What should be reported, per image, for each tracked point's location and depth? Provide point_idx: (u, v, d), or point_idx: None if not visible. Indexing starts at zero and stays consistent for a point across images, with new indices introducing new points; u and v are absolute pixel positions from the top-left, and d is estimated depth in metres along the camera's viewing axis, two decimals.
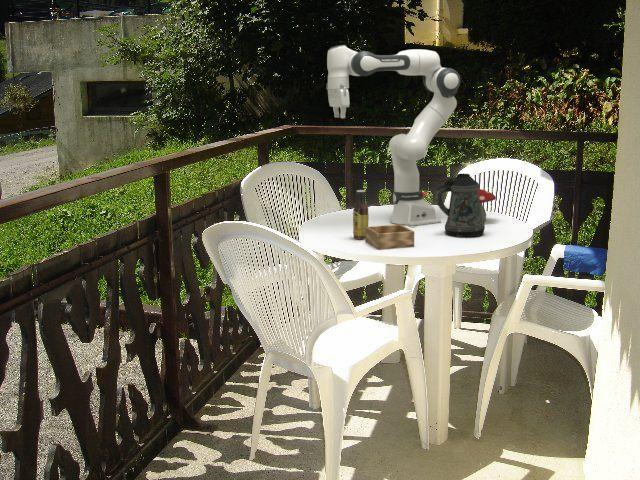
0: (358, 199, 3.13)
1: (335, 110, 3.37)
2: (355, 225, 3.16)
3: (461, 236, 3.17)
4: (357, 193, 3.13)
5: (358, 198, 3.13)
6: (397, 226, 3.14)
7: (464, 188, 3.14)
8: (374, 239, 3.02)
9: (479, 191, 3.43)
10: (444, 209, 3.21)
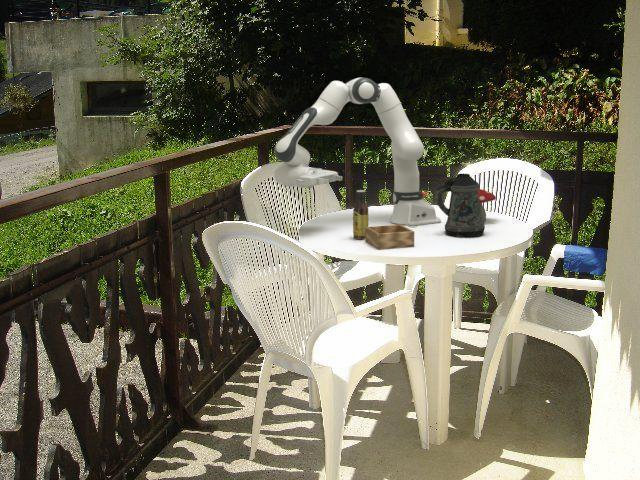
0: (358, 199, 3.13)
1: (336, 178, 3.26)
2: (355, 225, 3.16)
3: (461, 236, 3.17)
4: (357, 193, 3.13)
5: (358, 198, 3.13)
6: (397, 226, 3.14)
7: (464, 188, 3.14)
8: (374, 239, 3.02)
9: (479, 191, 3.43)
10: (444, 209, 3.21)
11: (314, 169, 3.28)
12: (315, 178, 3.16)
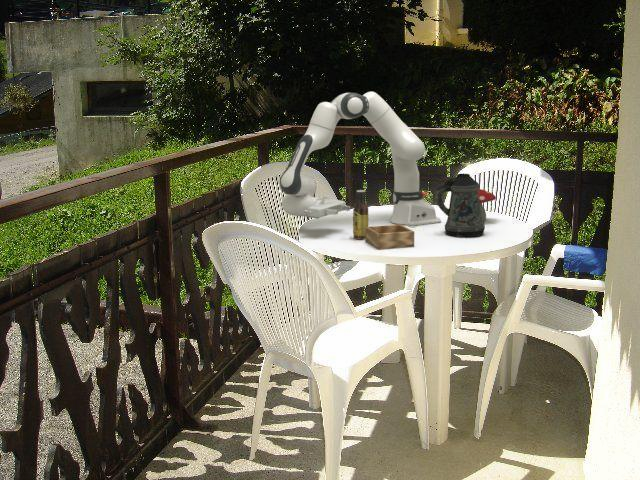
0: (358, 199, 3.13)
1: (344, 208, 3.27)
2: (355, 225, 3.16)
3: (461, 236, 3.17)
4: (357, 193, 3.13)
5: (358, 198, 3.13)
6: (397, 226, 3.14)
7: (464, 188, 3.14)
8: (374, 239, 3.02)
9: (479, 191, 3.43)
10: (444, 209, 3.21)
11: (322, 199, 3.29)
12: (323, 209, 3.17)
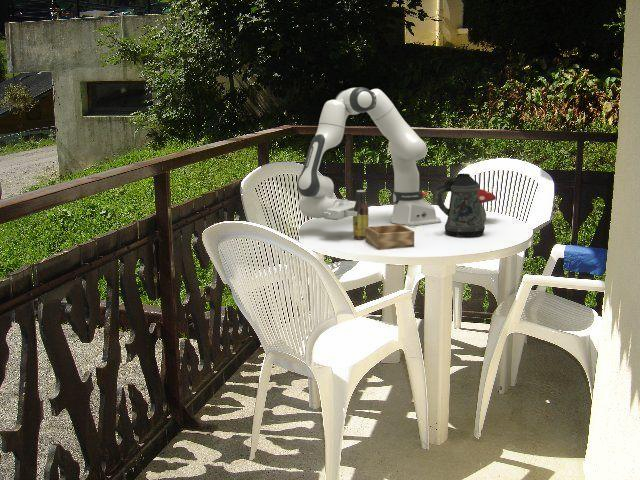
0: (358, 199, 3.13)
1: None
2: (355, 225, 3.16)
3: (461, 236, 3.17)
4: (357, 193, 3.13)
5: (358, 198, 3.13)
6: (397, 226, 3.14)
7: (464, 188, 3.14)
8: (374, 239, 3.02)
9: (479, 191, 3.43)
10: (444, 209, 3.21)
11: (340, 200, 3.24)
12: (342, 211, 3.12)
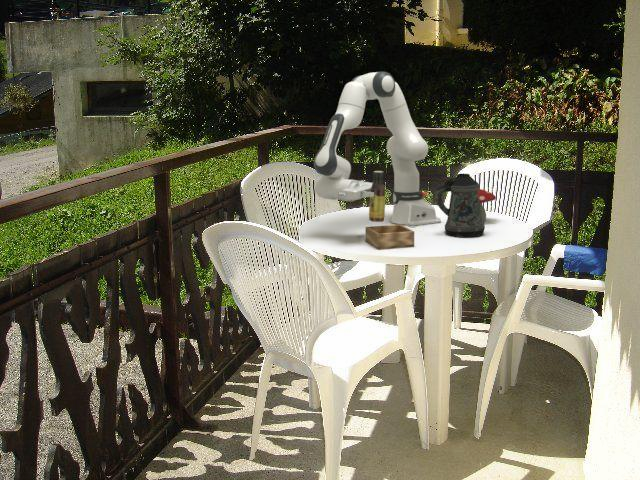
0: (375, 180, 3.05)
1: None
2: (371, 207, 3.07)
3: (461, 236, 3.17)
4: (374, 173, 3.05)
5: (375, 179, 3.05)
6: (397, 226, 3.14)
7: (464, 188, 3.14)
8: (374, 239, 3.02)
9: (479, 191, 3.43)
10: (444, 209, 3.21)
11: (356, 181, 3.16)
12: (359, 192, 3.04)
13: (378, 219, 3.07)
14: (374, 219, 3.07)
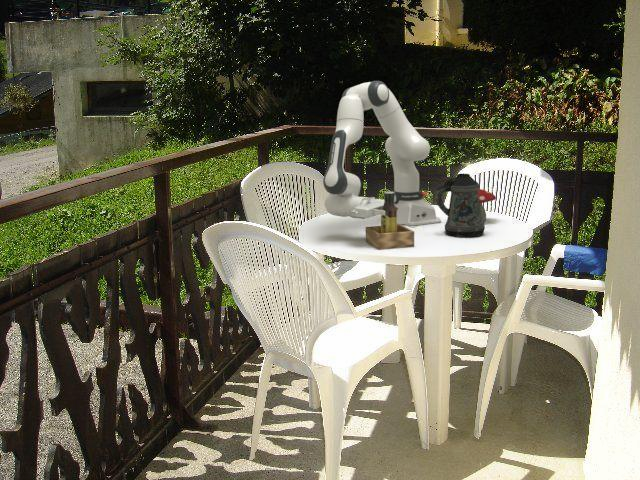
0: (386, 201, 3.02)
1: None
2: (383, 228, 3.04)
3: (461, 236, 3.17)
4: (385, 195, 3.02)
5: (386, 200, 3.02)
6: (397, 226, 3.14)
7: (464, 188, 3.14)
8: (374, 239, 3.02)
9: (479, 191, 3.43)
10: (444, 209, 3.21)
11: (368, 199, 3.13)
12: (371, 209, 3.01)
13: None
14: None
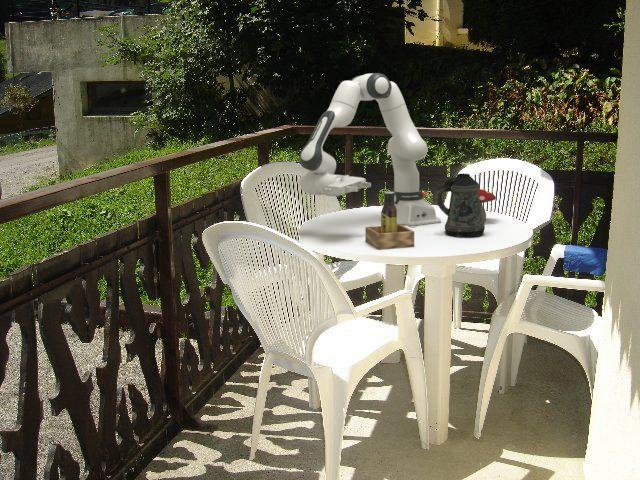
0: (386, 201, 3.02)
1: (364, 185, 3.16)
2: (383, 228, 3.04)
3: (461, 236, 3.17)
4: (385, 195, 3.02)
5: (386, 200, 3.02)
6: (397, 226, 3.14)
7: (464, 188, 3.14)
8: (374, 239, 3.02)
9: (479, 191, 3.43)
10: (444, 209, 3.21)
11: (341, 176, 3.18)
12: (344, 186, 3.06)
13: None
14: None
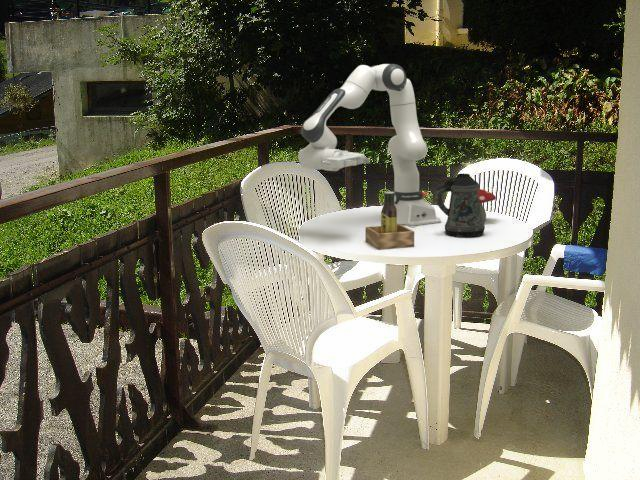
0: (386, 201, 3.02)
1: (363, 160, 3.14)
2: (383, 228, 3.04)
3: (461, 236, 3.17)
4: (385, 195, 3.02)
5: (386, 200, 3.02)
6: (397, 226, 3.14)
7: (464, 188, 3.14)
8: (374, 239, 3.02)
9: (479, 191, 3.43)
10: (444, 209, 3.21)
11: (340, 151, 3.16)
12: (342, 160, 3.04)
13: None
14: None
